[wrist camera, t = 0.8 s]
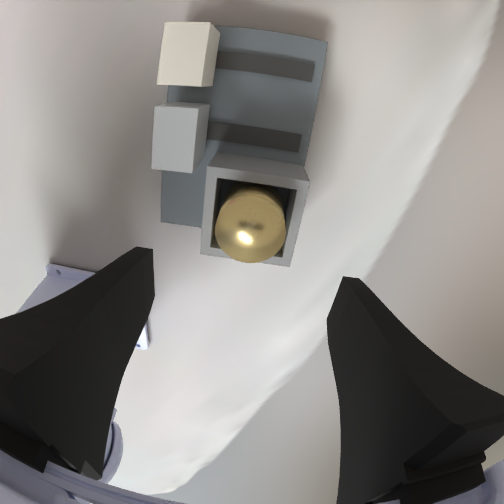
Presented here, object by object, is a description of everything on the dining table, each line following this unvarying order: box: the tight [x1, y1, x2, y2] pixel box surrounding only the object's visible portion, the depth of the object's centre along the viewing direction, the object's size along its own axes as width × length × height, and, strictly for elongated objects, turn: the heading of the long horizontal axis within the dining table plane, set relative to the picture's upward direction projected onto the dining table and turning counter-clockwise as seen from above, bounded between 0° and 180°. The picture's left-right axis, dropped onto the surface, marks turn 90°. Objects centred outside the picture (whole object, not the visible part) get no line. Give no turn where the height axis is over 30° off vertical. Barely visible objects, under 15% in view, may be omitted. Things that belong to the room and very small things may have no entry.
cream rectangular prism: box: [157, 22, 220, 87], centre depth 12 cm, size 2×3×3 cm, turn 172°
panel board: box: [161, 25, 328, 267], centre depth 15 cm, size 8×12×4 cm, turn 172°
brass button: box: [215, 181, 286, 263], centre depth 15 cm, size 3×3×3 cm
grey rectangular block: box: [151, 102, 210, 173], centre depth 14 cm, size 2×3×3 cm, turn 172°
